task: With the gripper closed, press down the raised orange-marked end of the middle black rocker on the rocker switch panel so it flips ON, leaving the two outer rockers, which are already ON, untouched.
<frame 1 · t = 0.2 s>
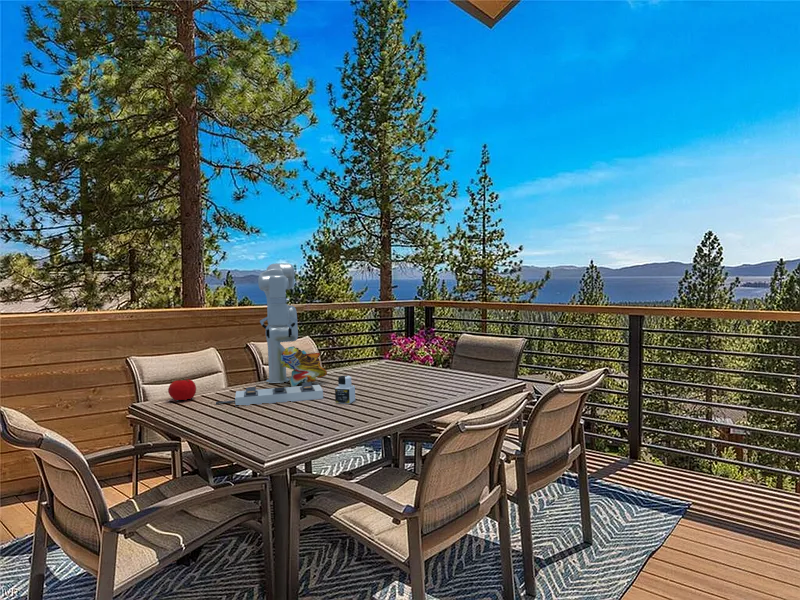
hand: (279, 337, 248), 30 cm above the table, tool pointing down, fingers open, 9 cm apart
multicoloured irregular chunky piece: (303, 384, 283), on the table
rocker 2: (307, 386, 251), point 5 cm above the table, hinge at 10.0°
medicine bottle: (345, 402, 242), on the table
rocker middle: (279, 388, 248), point 5 cm above the table, hinge at -10.0°
rocker switch panel: (279, 399, 251), on the table
rocker 1: (251, 391, 244), point 5 cm above the table, hinge at 10.0°
tomato: (183, 400, 254), on the table
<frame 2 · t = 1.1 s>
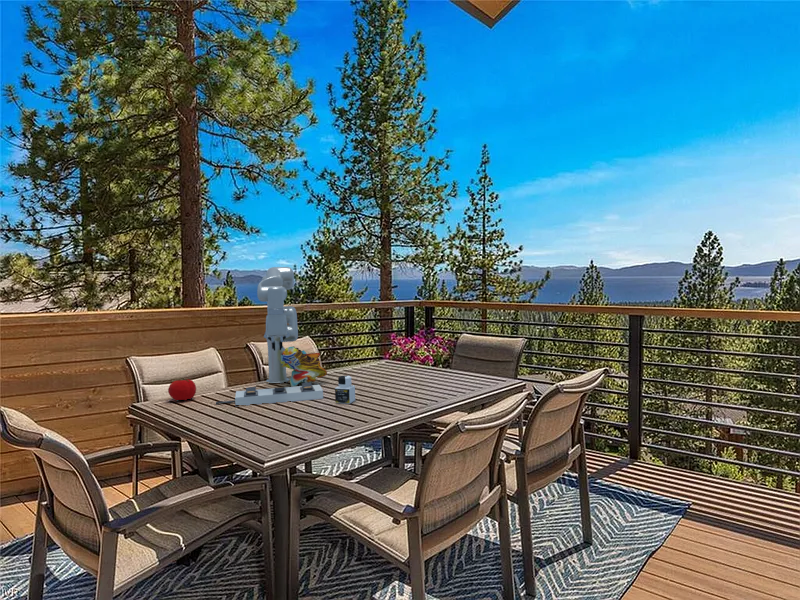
hand: (277, 349, 254), 23 cm above the table, tool pointing down, fingers closed
nothing on the table moved.
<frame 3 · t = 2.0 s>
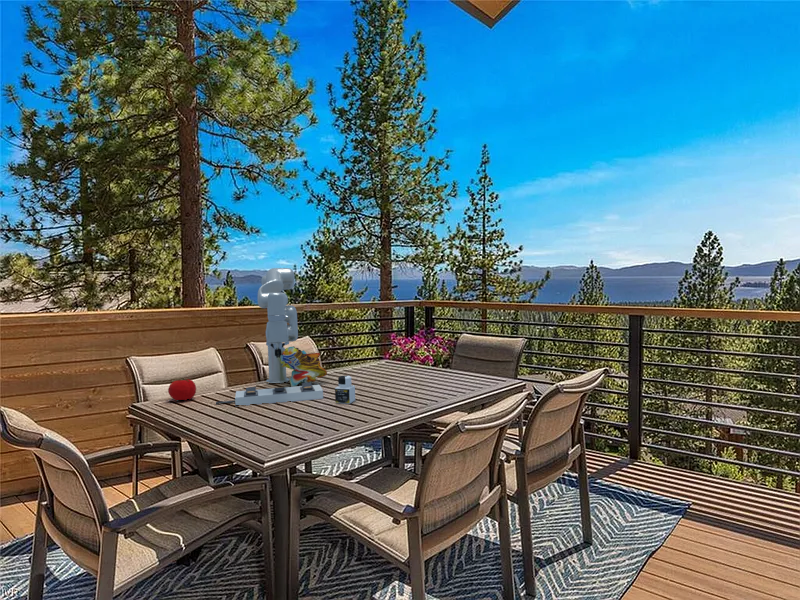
hand: (278, 357, 248), 20 cm above the table, tool pointing down, fingers closed
nothing on the table moved.
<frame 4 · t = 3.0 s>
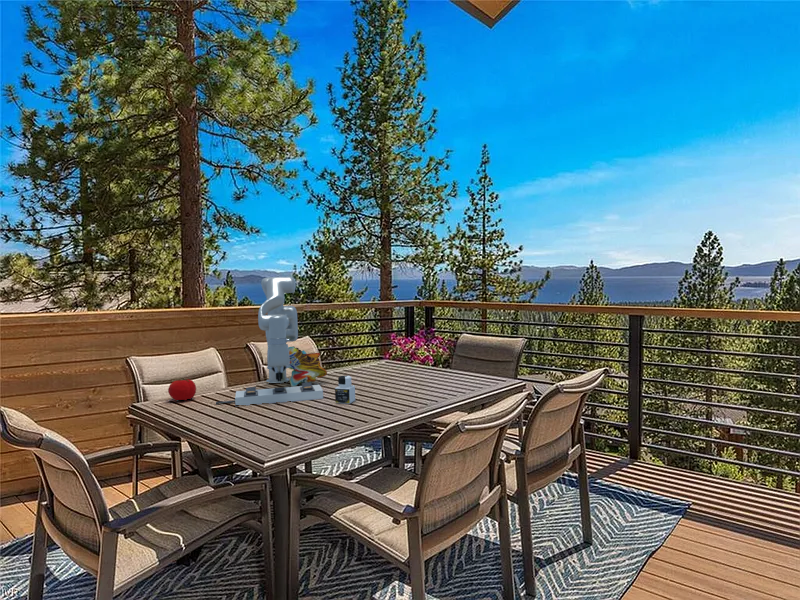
hand: (279, 380, 245), 10 cm above the table, tool pointing down, fingers closed
nothing on the table moved.
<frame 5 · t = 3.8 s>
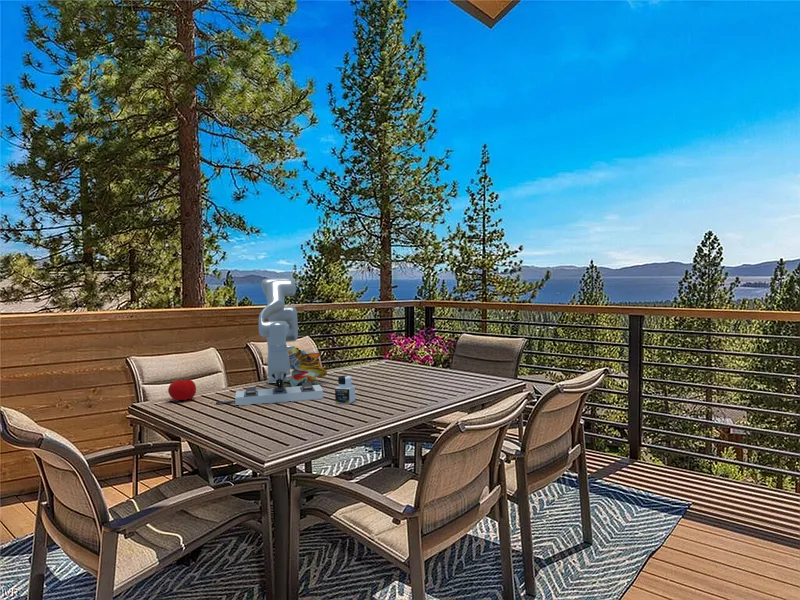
hand: (279, 387, 246), 7 cm above the table, tool pointing down, fingers closed
rocker middle: (279, 388, 248), point 5 cm above the table, hinge at -9.6°, touching gripper
everything else where it was.
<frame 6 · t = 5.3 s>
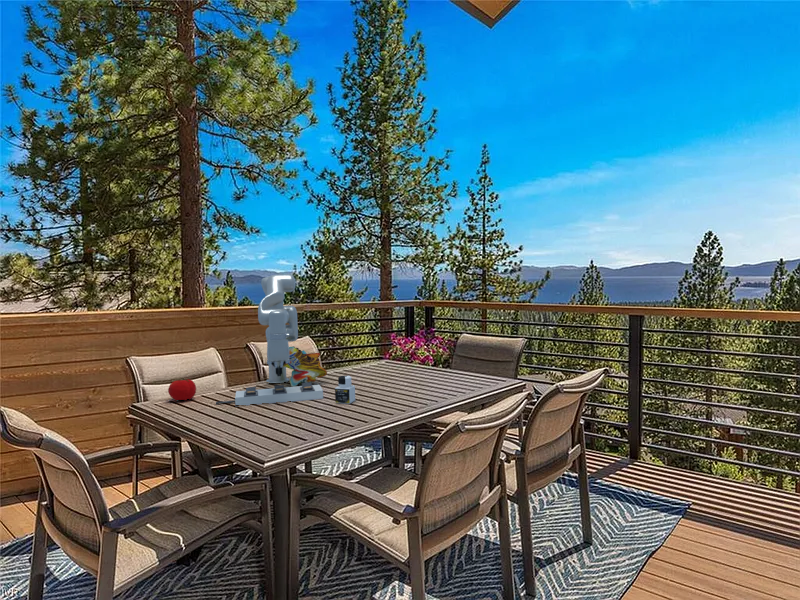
hand: (279, 375, 246), 12 cm above the table, tool pointing down, fingers closed
rocker middle: (279, 388, 248), point 5 cm above the table, hinge at 7.3°
everything else where it was.
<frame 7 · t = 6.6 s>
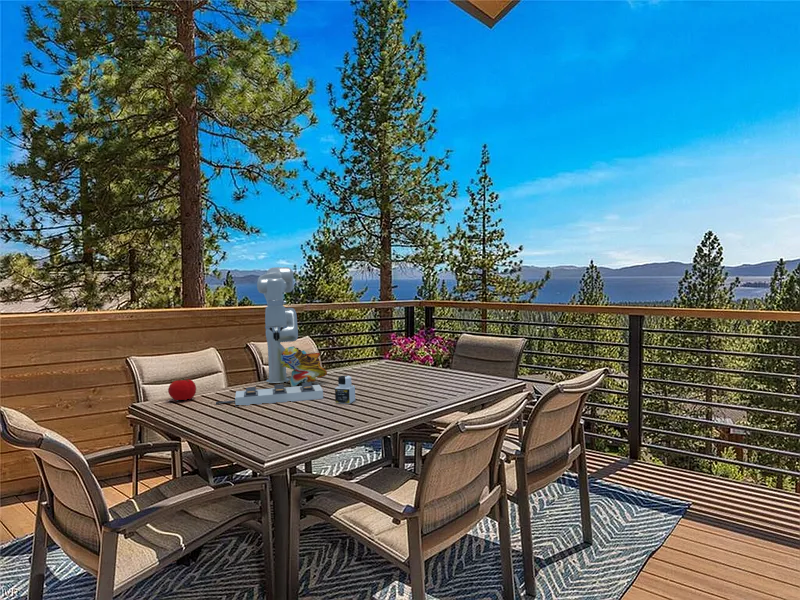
hand: (276, 340, 260), 27 cm above the table, tool pointing down, fingers closed
rocker middle: (279, 388, 248), point 5 cm above the table, hinge at 12.9°, touching rocker switch panel
everything else where it was.
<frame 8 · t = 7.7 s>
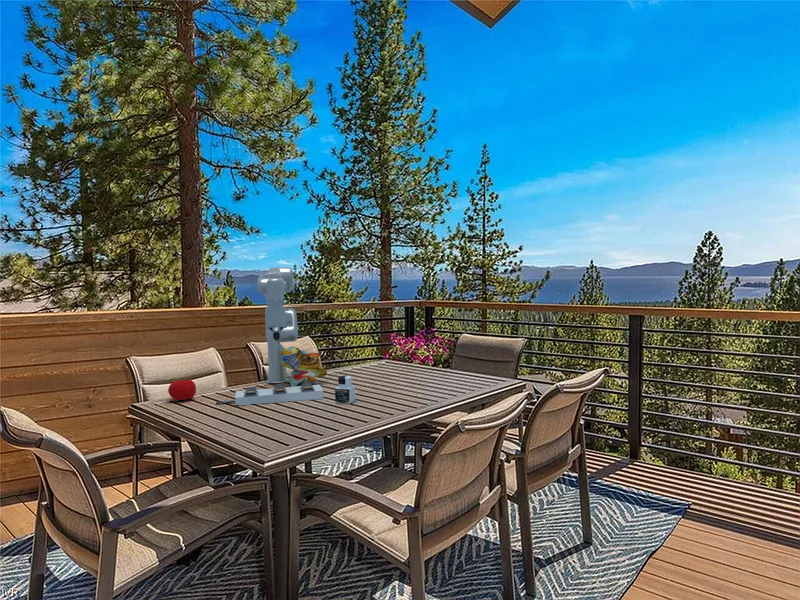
hand: (276, 340, 260), 27 cm above the table, tool pointing down, fingers closed
rocker middle: (279, 388, 248), point 5 cm above the table, hinge at 11.2°
everything else where it was.
at the end: rocker middle at +11° (first picture: -10°); rocker 2 at +10° (first picture: +10°); rocker 1 at +10° (first picture: +10°) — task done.
